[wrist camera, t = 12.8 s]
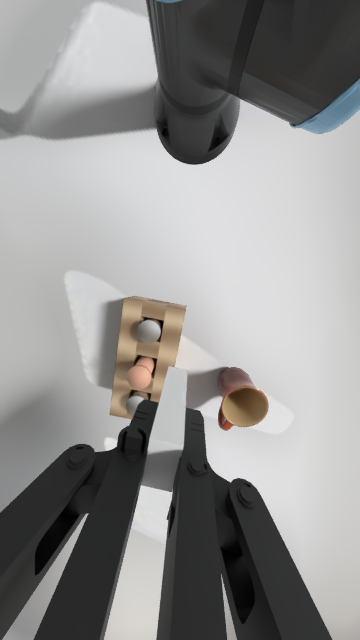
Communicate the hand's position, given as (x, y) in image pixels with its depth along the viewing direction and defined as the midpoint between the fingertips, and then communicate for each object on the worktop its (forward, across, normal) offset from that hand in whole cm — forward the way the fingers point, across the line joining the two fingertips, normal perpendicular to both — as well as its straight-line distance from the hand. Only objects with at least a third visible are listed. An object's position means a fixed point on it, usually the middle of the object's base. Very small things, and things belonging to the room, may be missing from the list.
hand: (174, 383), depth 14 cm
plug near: (+28, -6, -3) cm, 29 cm away
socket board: (+28, -6, -12) cm, 31 cm away
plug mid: (+25, -6, -11) cm, 29 cm away
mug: (+29, +14, -15) cm, 35 cm away
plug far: (+28, -6, -19) cm, 34 cm away
